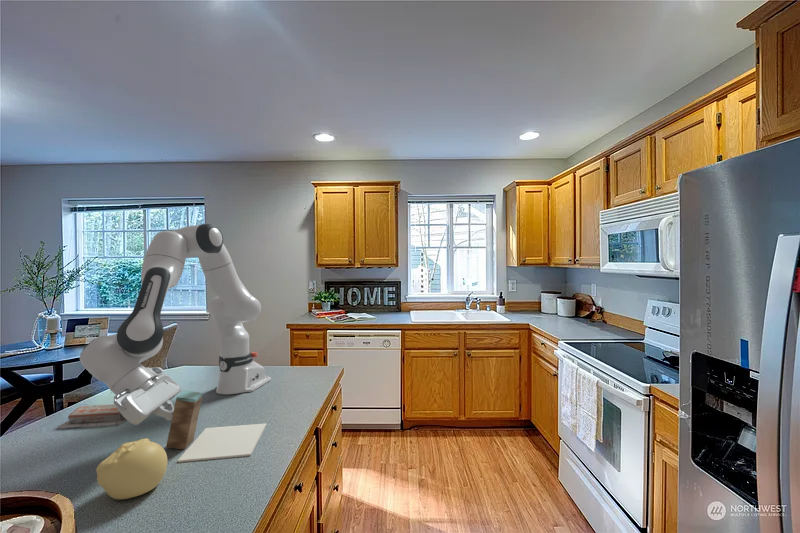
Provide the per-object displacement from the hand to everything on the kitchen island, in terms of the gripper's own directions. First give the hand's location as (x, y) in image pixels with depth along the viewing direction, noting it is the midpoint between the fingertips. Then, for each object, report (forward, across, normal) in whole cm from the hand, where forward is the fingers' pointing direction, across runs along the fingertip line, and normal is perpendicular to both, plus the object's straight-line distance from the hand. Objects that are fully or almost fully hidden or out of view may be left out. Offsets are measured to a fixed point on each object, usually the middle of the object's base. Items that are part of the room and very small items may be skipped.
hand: (174, 416), depth 97 cm
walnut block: (+7, 0, +4) cm, 8 cm away
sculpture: (+7, -19, +6) cm, 21 cm away
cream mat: (+16, 0, -4) cm, 16 cm away
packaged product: (-17, +22, +30) cm, 41 cm away
